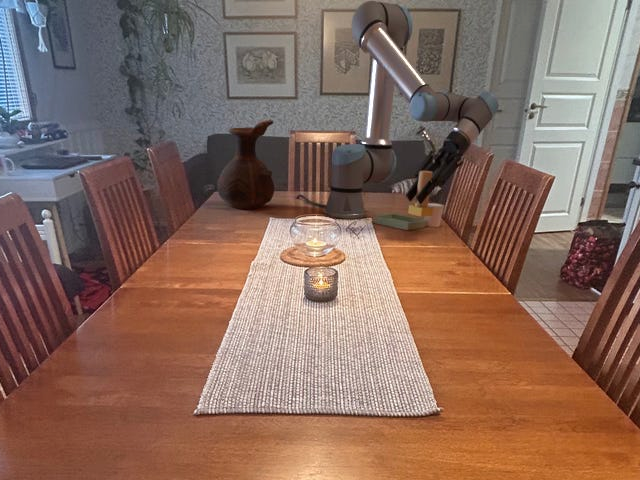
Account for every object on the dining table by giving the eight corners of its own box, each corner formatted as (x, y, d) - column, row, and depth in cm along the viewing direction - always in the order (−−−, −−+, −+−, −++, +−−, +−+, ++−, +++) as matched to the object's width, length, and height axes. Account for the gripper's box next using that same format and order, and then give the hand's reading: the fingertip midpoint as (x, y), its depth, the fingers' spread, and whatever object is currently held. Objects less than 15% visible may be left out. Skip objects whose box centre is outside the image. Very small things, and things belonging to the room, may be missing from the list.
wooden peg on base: (408, 213, 190) (413, 170, 184) (419, 212, 193) (425, 170, 186) (420, 216, 186) (427, 173, 180) (432, 215, 189) (438, 172, 182)
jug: (220, 211, 219) (217, 118, 203) (216, 201, 237) (212, 115, 221) (278, 211, 223) (280, 120, 207) (269, 201, 241) (270, 117, 225)
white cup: (442, 227, 209) (446, 206, 206) (423, 226, 209) (426, 205, 205) (439, 223, 215) (442, 203, 211) (420, 223, 215) (423, 202, 211)
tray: (373, 222, 212) (374, 216, 211) (391, 219, 218) (392, 213, 217) (407, 230, 203) (408, 223, 202) (425, 227, 209) (426, 220, 208)
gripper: (485, 151, 181) (437, 212, 182) (445, 145, 193) (400, 203, 194) (476, 132, 176) (427, 195, 177) (436, 127, 188) (390, 186, 188)
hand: (413, 199), depth 185 cm, fingers closed on wooden peg on base, 4 cm apart
